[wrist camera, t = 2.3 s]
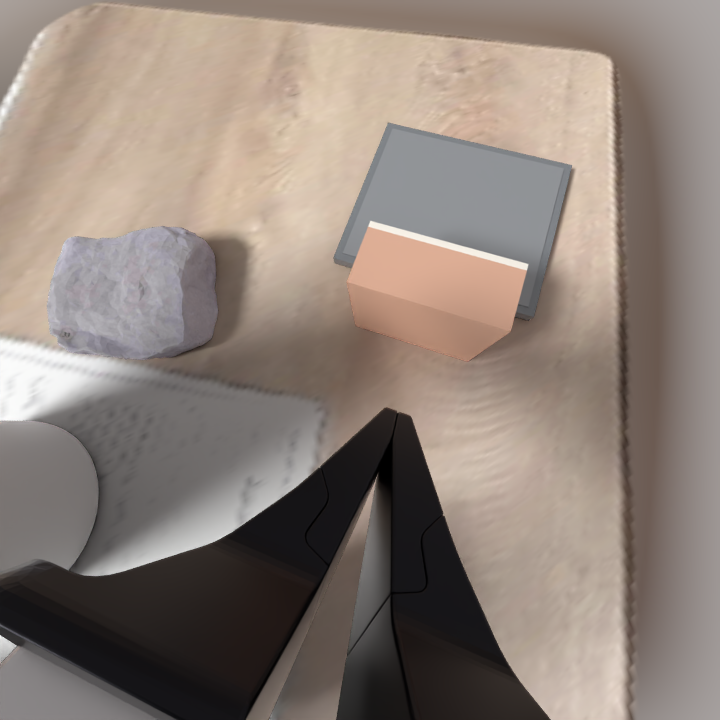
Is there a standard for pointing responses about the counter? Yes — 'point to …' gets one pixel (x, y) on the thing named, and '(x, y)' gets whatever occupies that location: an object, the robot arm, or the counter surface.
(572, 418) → the counter surface
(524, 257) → the slate board
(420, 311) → the salmon orange block
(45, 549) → the cylinder vase
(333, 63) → the counter surface
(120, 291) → the stone block
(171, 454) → the counter surface
